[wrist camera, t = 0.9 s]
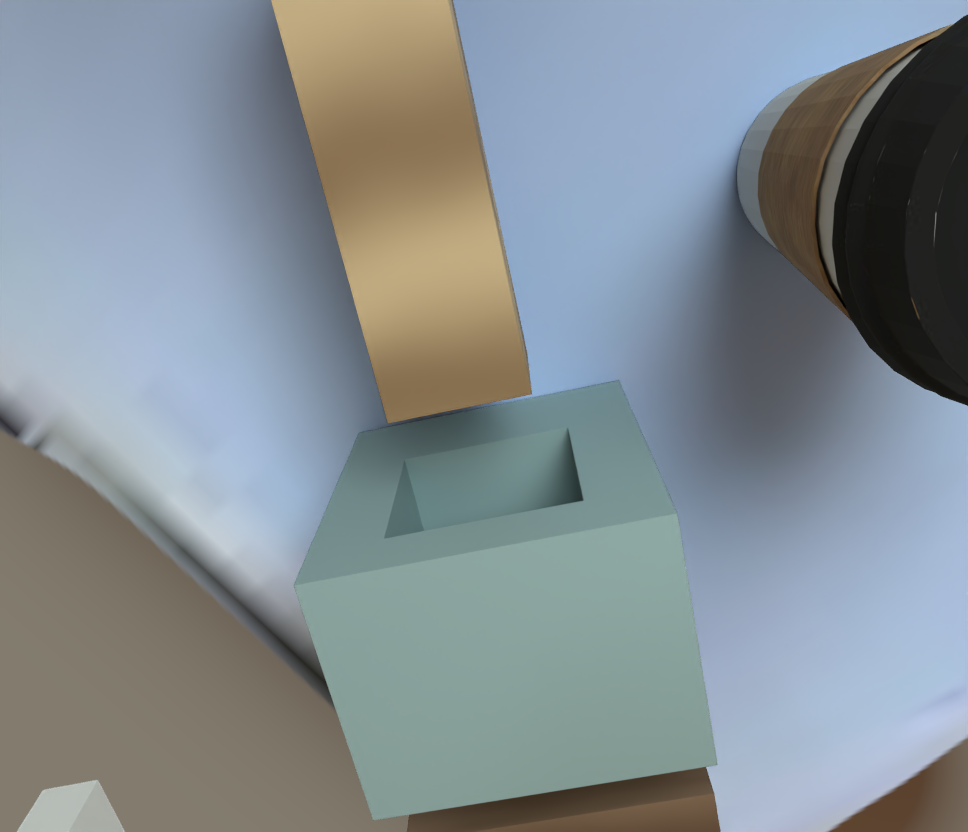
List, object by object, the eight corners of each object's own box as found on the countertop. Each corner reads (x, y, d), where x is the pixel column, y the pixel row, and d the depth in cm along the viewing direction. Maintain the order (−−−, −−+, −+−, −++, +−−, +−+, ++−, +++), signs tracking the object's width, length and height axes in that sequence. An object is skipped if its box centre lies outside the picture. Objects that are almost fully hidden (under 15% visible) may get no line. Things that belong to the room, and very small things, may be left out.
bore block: (358, 433, 32) (293, 585, 22) (618, 380, 32) (677, 513, 21) (409, 610, 35) (373, 820, 25) (651, 566, 34) (717, 764, 24)
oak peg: (271, -119, 22) (225, -165, 19) (419, -158, 22) (403, -213, 18) (403, 379, 27) (388, 423, 23) (527, 353, 27) (531, 394, 23)
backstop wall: (427, 670, 36) (405, 842, 28) (662, 628, 35) (713, 793, 27) (438, 707, 37) (420, 887, 28) (669, 668, 36) (721, 841, 27)
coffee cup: (765, 334, 31) (990, 525, 17) (654, 126, 29) (806, 146, 14) (988, 207, 29) (1443, 302, 15) (889, -24, 27) (1319, -168, 13)
